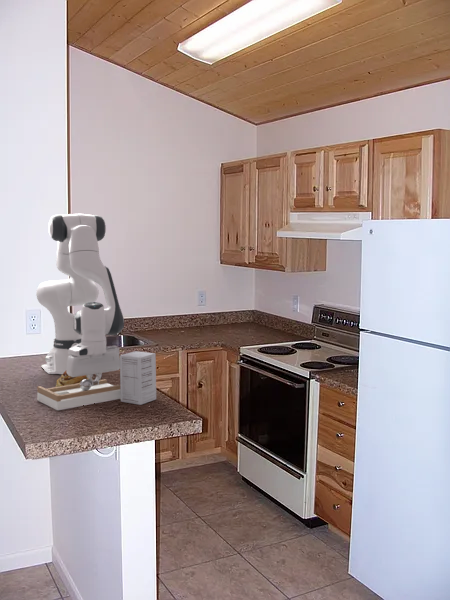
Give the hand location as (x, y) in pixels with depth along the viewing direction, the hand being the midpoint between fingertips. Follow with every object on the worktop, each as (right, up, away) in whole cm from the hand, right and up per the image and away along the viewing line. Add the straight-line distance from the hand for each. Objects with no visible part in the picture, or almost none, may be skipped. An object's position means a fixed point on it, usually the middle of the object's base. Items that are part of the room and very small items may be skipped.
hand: (94, 385), depth 229 cm
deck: (-4, -5, -3) cm, 7 cm away
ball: (-3, +1, -2) cm, 4 cm away
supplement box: (+16, -5, -4) cm, 18 cm away
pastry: (-10, -3, +14) cm, 17 cm away
